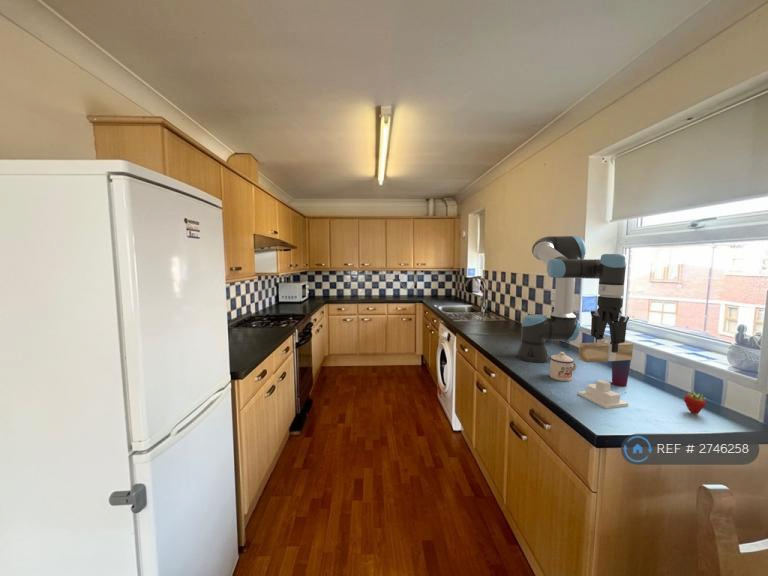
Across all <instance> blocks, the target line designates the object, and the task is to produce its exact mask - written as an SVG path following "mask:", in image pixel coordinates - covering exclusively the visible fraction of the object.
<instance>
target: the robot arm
mask: <svg viewBox="0 0 768 576" xmlns="http://www.w3.org/2000/svg"><path fill="white" fill-rule="evenodd" d="M531 247H532V248H531V253H532V255H533V257H534V259H536V260H538V261H542V262H543V263H544V264H545V266H546V273H547V276H548V277H549V278H555V287H554V288H555V289H554V302H553V303H554V306H553V312H551V313H550V317H547V315H546V314H527V315H525V316H523V318H522V321H521V335H520V336H521V339H520V344H519V347H518V350H517V352H516V358H518V359H519V360H521V361H525V362H531V363H545V362H548V360H549V355H548V351H547V348H546V341H556V342H557V341H558V342H559V341H560V342H565V343H566V342H575V341H576V340H577V339H578V337H579V336H580V333H581V322H580V320H579V319H577V315H576V314H575V313H574V303H575V289H576V288H575V285H576V279H595V280H597V279H598V291H597V292H598V293H597V294H598V295H599V296H597V301H596V305H597V306H598V307H597V309H596V310H590V316H591V324H590V325H591V326H590V328H591V329H590V336H591V337H594V338H595V343H597V342H606V340H605V337H604V336H605V332H606V328H607V326H608V325H609V335H610V341H609V342H610V343H609V347H608V361H607V362H612V361H615V359H616V353H617V352H618V344H619V343H624V342H626V335H627V334H626V333H627V324H628V322H629V320H630V316H628V315H627V316H626V315H624V314H623V313H622V310H621V309H622V308H623V304H624V303H623V302H624V301H623V300H624V298H623V296H624V291H625V278H626V267H627V256H626V255H625V254H624V253H603V254H601V255H600V258H599V259H598V258H597V259H585V258H586V257H585V256H586V253H587V252H586V251H587V250H586V249H587V248H586V242H585V241H584V239H583V238H582V237H580V236H572V235H570V236H569V235H568V236H566V235H565V236H561V235H560V236H550V235H548V236H545V237H542V238H539V239H537V240H536V241H535V242H534V243H533V245H532V246H531Z"/></svg>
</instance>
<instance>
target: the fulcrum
mask: <svg viewBox="0 0 768 576" xmlns="http://www.w3.org/2000/svg"><path fill="white" fill-rule="evenodd" d="M611 384H612V382H609V381H606V380H604V379H600V380H599V379H598V380H596V382H595V383H592V384H586V386H585V387H586V388H585V389H586V390H583V391H582V390H581V391H577V395H579V396H581V397H582V398H584V399H586V400H588V401H590V402H592V403H594V404H596V405H598V406H600V407H602V408H603V409H612V408H613V409H614V408H623V407H628V406H629V402H627V401H624V400H622V399H621V395H620V394H619V393H617V392H615V391H613V390H611Z"/></svg>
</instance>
